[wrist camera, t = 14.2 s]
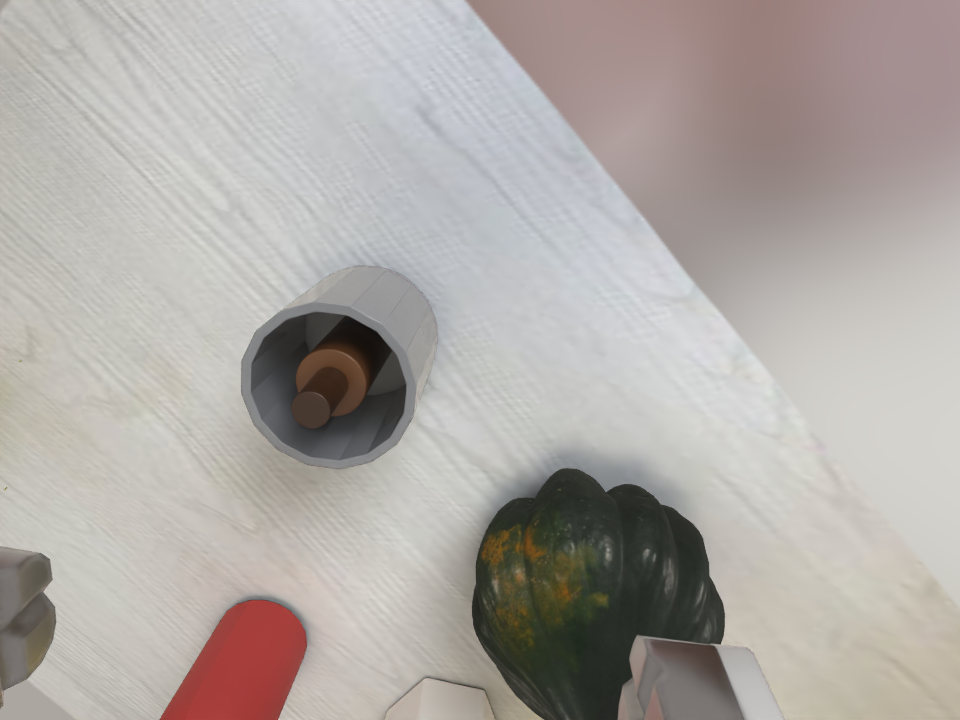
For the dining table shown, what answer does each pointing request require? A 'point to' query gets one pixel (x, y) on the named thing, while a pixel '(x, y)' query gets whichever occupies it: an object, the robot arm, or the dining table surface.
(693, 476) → the dining table surface
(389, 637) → the dining table surface
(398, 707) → the jar
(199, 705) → the beer can
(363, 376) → the brown bottle
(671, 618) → the squash
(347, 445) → the steel cup
